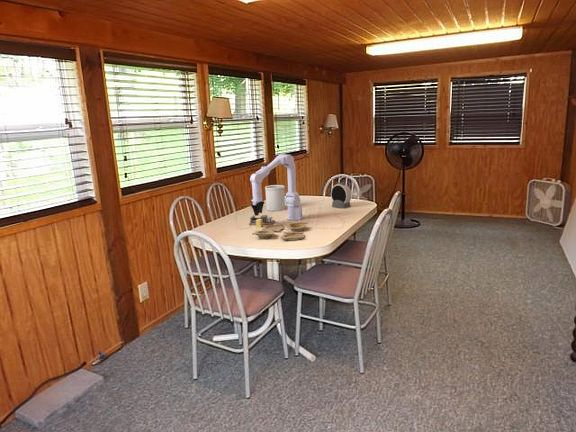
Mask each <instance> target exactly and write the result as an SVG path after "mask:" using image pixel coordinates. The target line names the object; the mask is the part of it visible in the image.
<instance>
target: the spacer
mask: <svg viewBox="0 0 576 432" xmlns="http://www.w3.org/2000/svg"><path fill="white" fill-rule="evenodd" d="M255 228H263V225H262V219H257V220H256V225H255Z"/></svg>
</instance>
